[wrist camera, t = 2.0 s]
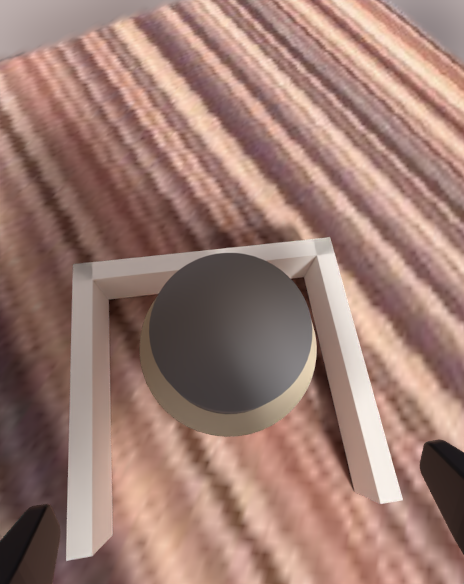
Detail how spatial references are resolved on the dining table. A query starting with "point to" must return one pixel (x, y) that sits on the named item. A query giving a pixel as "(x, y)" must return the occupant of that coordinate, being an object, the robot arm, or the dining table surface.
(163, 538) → the dining table surface
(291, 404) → the pepper mill
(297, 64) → the dining table surface
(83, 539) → the u-shaped frame
